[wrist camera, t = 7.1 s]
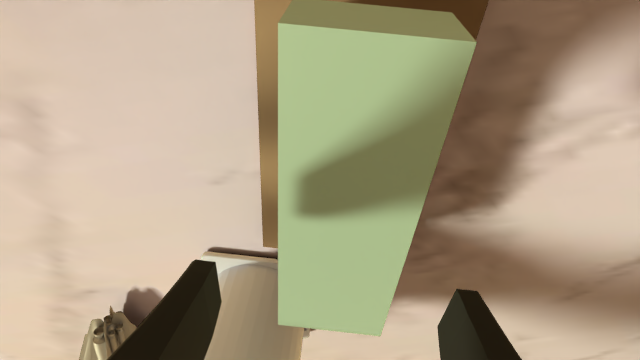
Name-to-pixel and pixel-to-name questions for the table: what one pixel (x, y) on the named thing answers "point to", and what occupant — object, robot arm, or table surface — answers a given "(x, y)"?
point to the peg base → (269, 8)
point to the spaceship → (106, 336)
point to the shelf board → (357, 151)
